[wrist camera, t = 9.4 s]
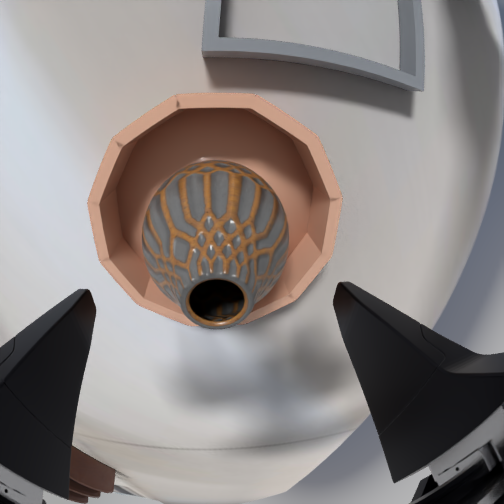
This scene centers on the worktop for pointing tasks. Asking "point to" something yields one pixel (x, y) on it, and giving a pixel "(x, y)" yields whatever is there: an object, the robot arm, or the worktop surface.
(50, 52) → the worktop surface
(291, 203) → the bowl
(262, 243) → the vase
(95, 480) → the letter holder
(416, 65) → the parts tray
